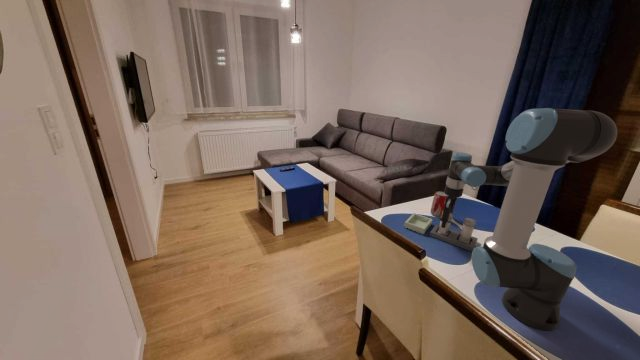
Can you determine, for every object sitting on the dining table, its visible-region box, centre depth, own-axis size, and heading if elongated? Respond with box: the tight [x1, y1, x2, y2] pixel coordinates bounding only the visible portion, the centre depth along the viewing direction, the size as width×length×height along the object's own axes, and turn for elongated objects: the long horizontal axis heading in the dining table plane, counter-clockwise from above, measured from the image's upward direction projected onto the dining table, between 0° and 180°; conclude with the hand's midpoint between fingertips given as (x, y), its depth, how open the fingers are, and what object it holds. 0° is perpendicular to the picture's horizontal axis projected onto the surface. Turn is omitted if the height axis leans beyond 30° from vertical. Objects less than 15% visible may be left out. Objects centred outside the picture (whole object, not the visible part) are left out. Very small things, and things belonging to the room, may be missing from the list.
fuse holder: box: [429, 217, 478, 252], centre depth 122 cm, size 10×19×12 cm, turn 52°
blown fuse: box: [437, 212, 454, 236], centre depth 125 cm, size 5×5×12 cm
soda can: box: [430, 190, 448, 218], centre depth 145 cm, size 7×7×13 cm
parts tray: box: [403, 212, 433, 235], centre depth 134 cm, size 13×10×3 cm
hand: (443, 230), depth 126 cm, fingers closed on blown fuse, 4 cm apart
